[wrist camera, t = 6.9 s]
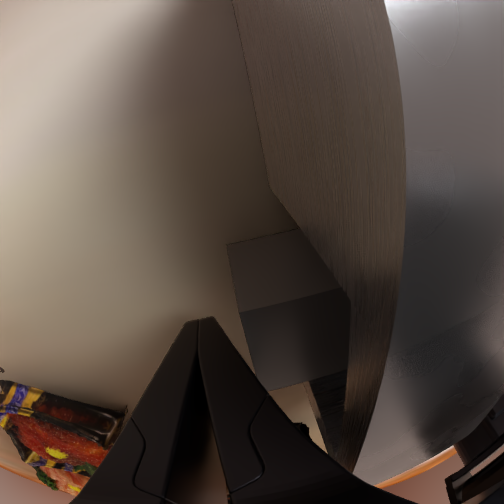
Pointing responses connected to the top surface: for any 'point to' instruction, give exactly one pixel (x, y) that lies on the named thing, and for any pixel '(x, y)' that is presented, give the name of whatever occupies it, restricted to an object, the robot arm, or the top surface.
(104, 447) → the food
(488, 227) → the grey notched block
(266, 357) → the plug
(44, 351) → the top surface
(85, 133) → the top surface
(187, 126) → the top surface
